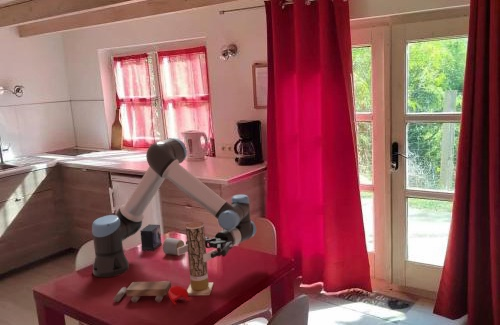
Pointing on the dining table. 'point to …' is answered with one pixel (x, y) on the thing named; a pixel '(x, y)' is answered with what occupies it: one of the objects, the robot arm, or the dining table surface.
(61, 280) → the dining table surface
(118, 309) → the dining table surface
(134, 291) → the brown toy skateboard
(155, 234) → the small box
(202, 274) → the bark-patterned canister
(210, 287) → the coaster
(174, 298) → the red rounded piece
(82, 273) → the dining table surface
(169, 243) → the ceramic mug
